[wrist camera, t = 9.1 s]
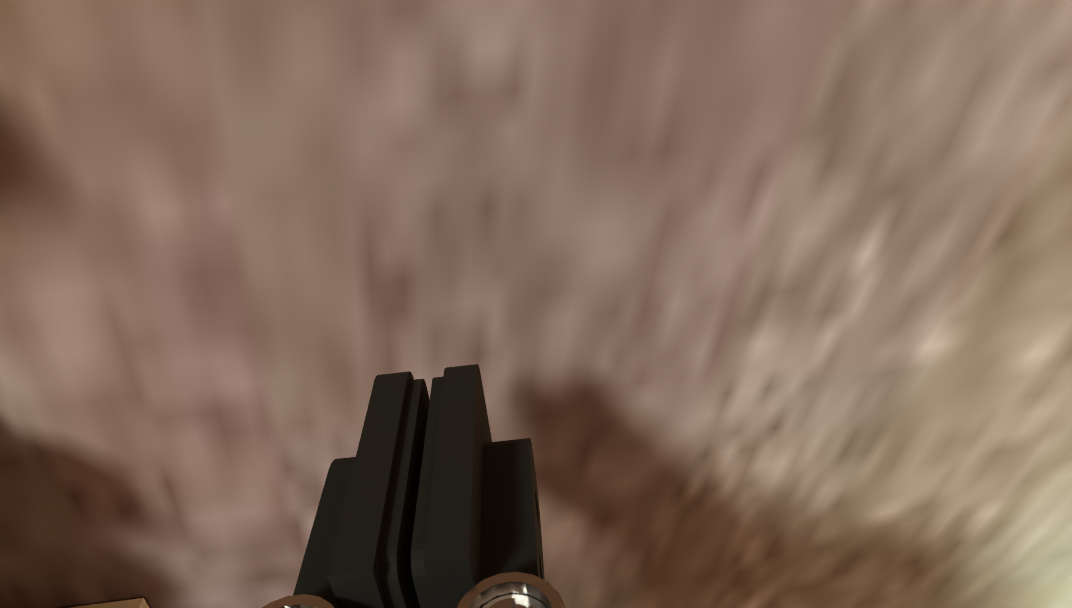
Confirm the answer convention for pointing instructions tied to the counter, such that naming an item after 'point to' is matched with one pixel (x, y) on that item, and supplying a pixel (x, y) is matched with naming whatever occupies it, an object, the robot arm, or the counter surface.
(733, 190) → the counter surface
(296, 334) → the counter surface
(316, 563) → the robot arm
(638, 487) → the counter surface
